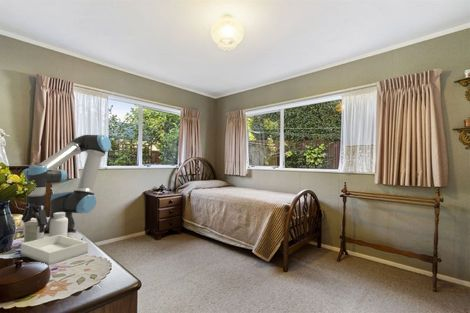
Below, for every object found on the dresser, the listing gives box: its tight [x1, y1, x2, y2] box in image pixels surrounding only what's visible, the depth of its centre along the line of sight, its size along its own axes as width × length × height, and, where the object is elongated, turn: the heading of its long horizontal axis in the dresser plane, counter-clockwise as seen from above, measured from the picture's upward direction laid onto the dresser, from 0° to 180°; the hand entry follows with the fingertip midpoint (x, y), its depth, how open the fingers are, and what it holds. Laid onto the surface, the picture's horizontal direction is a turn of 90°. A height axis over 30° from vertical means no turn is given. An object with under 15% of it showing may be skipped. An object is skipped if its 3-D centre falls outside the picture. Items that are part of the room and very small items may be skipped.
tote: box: [19, 235, 89, 266], centre depth 109 cm, size 16×24×5 cm, turn 64°
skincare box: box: [23, 219, 38, 243], centre depth 120 cm, size 6×4×12 cm
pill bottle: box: [48, 212, 69, 237], centre depth 128 cm, size 8×8×15 cm
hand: (33, 236), depth 120 cm, fingers open, 13 cm apart
